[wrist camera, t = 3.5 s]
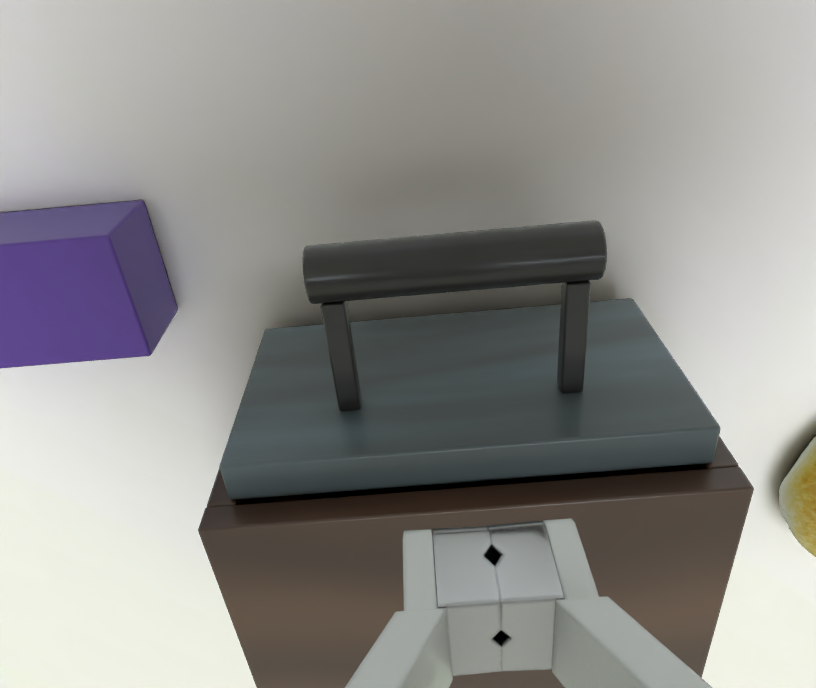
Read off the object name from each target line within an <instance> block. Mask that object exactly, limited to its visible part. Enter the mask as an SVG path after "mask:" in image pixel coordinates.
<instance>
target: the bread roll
mask: <svg viewBox="0 0 816 688" xmlns="http://www.w3.org/2000/svg"><path fill="white" fill-rule="evenodd" d="M779 504H780V511H781V514H782V516H783V518H784V520H785V521H786V523H787V524H788V526H789V529H790V530H791V532H792V533H793V535H794V536H795V538H796V539H797V540H798V542H799V543H800V544H801V545H802V546H803V547H804V548H805V549H806V550H807V551H809V552H810V553H811V554H812V555H814V556H815V557H816V436H815V437H814V438H813V439H812V441H811V442H810V443H809V445H808V446H807V448H806V449H805V450H804V451H803V453H802V454H801V456H800V457H799V459H798V460H797V461H796V463H795V464H794V466H793V467H792V469H791V470H790V471H789V473H788V474H787V476H786V477H785V478H784V480H783V481H782V483H781V486H780V490H779Z"/></svg>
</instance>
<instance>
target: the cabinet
mask: <svg viewBox="0 0 816 688" xmlns="http://www.w3.org/2000/svg"><path fill="white" fill-rule="evenodd" d="M258 350H259V349H258ZM257 353H258V352H257ZM256 356H257V355H256ZM660 469H661V471H662V473H649V474H636V475H623V476H609V477H596V478H583V479H570V480H557V481H544V482H531V483H518V484H505V485H492V486H479V487H466V488H453V489H440V490H427V491H414V492H401V493H388V494H375V495H362V496H349V497H336V498H322V499H309V500H296V501H283V502H274V500H275V497H263V498H250V499H237V500H231V499H230V498H229V496H228V493H227V489H226V486H225V483H224V480H223V477H222V474H221V471H220V468H219V471H218V474H217V477H216V480H215V483H214V486H213V489H212V492H211V495H210V498H209V501H208V504H207V508H206V509H205V511H204V514H203V517H202V520H201V523H200V526H199V529H198V531H199V534H200V537H201V540H202V542H203V545H204V548H205V550H206V553H207V556H208V558H209V561H210V564H211V566H212V569H213V572H214V574H215V577H216V580H217V582H218V585H219V588H220V590H221V593H222V596H223V598H224V601H225V604H226V606H227V609H228V612H229V614H230V617H231V620H232V622H233V625H234V628H235V630H236V633H237V636H238V638H239V641H240V644H241V647H242V649H243V652H244V655H245V657H246V660H247V663H248V665H249V668H250V671H251V673H252V676H253V679H254V681H255V684H256V687H257V688H345V687H346V685H347V684H348V682H349V681H350V679H351V678H352V676H353V675H354V673H355V672H356V670H357V669H358V667H359V666H360V664H361V663H362V661H363V660H364V658H365V657H366V655H367V654H368V652H369V651H370V649H371V648H372V646H373V645H374V643H375V642H376V640H377V639H378V637H379V636H380V634H381V633H382V631H383V630H384V628H385V627H386V625H387V624H388V622H389V621H390V619H391V618H392V616H393V615H394V613H395V612H397V611H404V588H403V533H404V531H406V530H424V529H432V535H433V529H435V528H456V527H476V526H487V525H495V524H506V523H518V522H529V521H540V520H541V521H542V522H543V521H544V520H557V519H569V518H571V519H572V520H573V521H574V522H575V524H576V527H577V530H578V533H579V537H580V540H581V543H582V546H583V549H584V552H585V555H586V558H587V561H588V564H589V567H590V570H591V573H592V576H593V579H594V582H595V586H596V589H597V592H598V595H599V597H607V596H608V597H609V598H610V599H611V600H613V601H614V602H615V603H616V604H617V605H618V606H619V607H621V608H622V609H623V610H624V611H625V612H626V613H627V614H629V615H630V616H631V617H632V618H633V619H634V620H636V621H637V622H638V623H639V624H640V625H641V626H642V627H644V628H645V629H646V630H647V631H648V632H649V633H650V634H652V635H653V636H654V637H655V638H656V639H657V640H658V641H660V642H661V643H662V644H663V645H664V646H665V647H666V648H668V649H669V650H670V651H671V652H672V653H673V654H674V655H676V656H677V657H678V658H679V659H680V660H681V661H682V662H684V663H685V664H686V665H687V666H688V667H689V668H691V669H692V670H693V671H694V672H695V673H696V674H697V675H699V676H700V677H702V674H703V670H704V667H705V663H706V659H707V656H708V652H709V649H710V645H711V641H712V638H713V634H714V631H715V627H716V623H717V620H718V616H719V613H720V609H721V605H722V602H723V598H724V595H725V591H726V587H727V584H728V580H729V577H730V573H731V569H732V566H733V562H734V559H735V555H736V551H737V548H738V544H739V541H740V537H741V533H742V530H743V526H744V523H745V519H746V515H747V512H748V508H749V505H750V501H751V497H752V494H753V490H754V488H753V486H752V485H751V483H750V482H749V480H748V479H747V477H746V476H745V474H744V473H743V471H742V470H741V468H740V467H738V463H737V462H736V460H735V459H734V457H733V456H732V454H731V453H730V451H729V450H728V449H727V447H726V446H725V444H724V443H723V441H722V440H721V438H720V437H719V438H718V442H717V447H716V451H715V456H714V460H713V462H712V463H705V464H692V465H679V466H666V467H660ZM449 688H565V687H564V686H563V685H562V683H561V682H560V681H559V680H558V678H557V677H556V676H555V675H554V674H553V672H552V669H547V670H523V671H500V672H490V673H480V674H469V675H459V676H453V680H452V683H451V685H450V687H449Z"/></svg>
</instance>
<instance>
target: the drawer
mask: <svg viewBox="0 0 816 688" xmlns="http://www.w3.org/2000/svg"><path fill="white" fill-rule="evenodd" d="M606 262H607V245H606V238H605V233H604V230H603V227H602V225H601V223H600V222H599V221H596V220H595V221H583V222H572V223H560V224H549V225H537V226H526V227H515V228H503V229H492V230H480V231H469V232H458V233H446V234H435V235H423V236H412V237H401V238H389V239H378V240H366V241H355V242H344V243H332V244H321V245H309V246H306V247H305V248H304V252H303V275H304V283H305V289H306V293H307V296H308V299H309V301H310V302H311V303H313V304H316V303H321V312H322V318H323V323H324V324H321V325H309V326H297V327H285V328H274V329H266V330H265V332H264V335H263V338H262V341H261V344H260V347H259V350H258V353H257V356H256V359H255V361H254V364H253V367H252V370H251V373H250V376H249V379H248V382H247V385H246V388H245V391H244V394H243V397H242V400H241V403H240V406H239V409H238V412H237V415H236V418H235V421H234V424H233V427H232V430H231V433H230V436H229V439H228V442H227V445H226V448H225V451H224V454H223V457H222V460H221V463H220V467H219V468H220V471H221V474H222V477H223V480H224V483H225V486H226V489H227V493H228V496H229V498H230V499H231V500H237V499H250V498H263V497H275V500H274V502H283V501H296V500H309V499H322V498H336V497H349V496H362V495H375V494H388V493H401V492H414V491H427V490H440V489H453V488H466V487H479V486H492V485H505V484H518V483H531V482H544V481H557V480H570V479H583V478H596V477H609V476H623V475H636V474H649V473H662V471H661V469H660V467H666V466H679V465H692V464H705V463H712V462H713V460H714V456H715V451H716V447H717V442H718V438H719V433H720V426H719V424H718V423H717V422H716V420H715V419H714V417H713V416H712V414H711V413H710V411H709V410H708V408H707V407H706V405H705V404H704V403H703V401H702V400H701V398H700V397H699V395H698V394H697V392H696V391H695V389H694V388H693V386H692V385H691V384H690V382H689V381H688V379H687V378H686V376H685V375H684V373H683V372H682V370H681V369H680V367H679V366H678V365H677V363H676V362H675V360H674V359H673V357H672V356H671V354H670V353H669V351H668V350H667V348H666V347H665V346H664V344H663V343H662V341H661V340H660V338H659V337H658V335H657V334H656V332H655V331H654V329H653V328H652V327H651V325H650V324H649V322H648V321H647V319H646V318H645V316H644V315H643V313H642V312H641V310H640V309H639V308H638V306H637V305H636V303H635V302H634V300H633V299H618V300H606V301H594V302H590V290H591V283H590V281H589V280H598V279H600V278H602V277H603V275H604V272H605V268H606ZM551 283H562V286H561V304H559V305H547V306H535V307H523V308H511V309H499V310H487V311H476V312H464V313H452V314H440V315H428V316H416V317H404V318H392V319H381V320H369V321H357V322H350V319H349V312H348V306H347V301H351V300H363V299H375V298H387V297H398V296H410V295H422V294H434V293H445V292H457V291H469V290H481V289H492V288H504V287H516V286H528V285H539V284H551Z"/></svg>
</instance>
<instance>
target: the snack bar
mask: <svg viewBox="0 0 816 688" xmlns="http://www.w3.org/2000/svg"><path fill="white" fill-rule="evenodd" d="M176 312H177V305H176V302H175V299H174V296H173V293H172V290H171V286H170V283H169V280H168V277H167V274H166V271H165V267H164V264H163V261H162V258H161V255H160V251H159V248H158V245H157V242H156V239H155V236H154V232H153V229H152V226H151V223H150V220H149V217H148V213H147V210H146V207H145V204H144V202H143V201H142V200H138V201H126V202H115V203H104V204H93V205H82V206H71V207H60V208H49V209H38V210H27V211H16V212H5V213H0V368H10V367H22V366H34V365H46V364H58V363H70V362H82V361H94V360H106V359H118V358H130V357H142V356H149V355H151V354H152V352H153V351H154V349H155V347H156V346H157V344H158V342H159V341H160V339H161V337H162V336H163V334H164V332H165V331H166V329H167V327H168V325H169V324H170V322H171V320H172V319H173V317H174V315H175V314H176Z"/></svg>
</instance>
